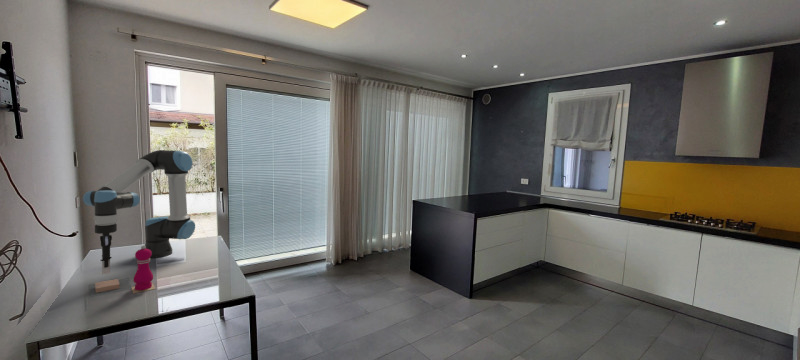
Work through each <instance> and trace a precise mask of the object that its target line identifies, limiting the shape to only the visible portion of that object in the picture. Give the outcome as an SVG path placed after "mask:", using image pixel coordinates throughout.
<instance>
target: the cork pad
mask: <svg viewBox="0 0 800 360" xmlns="http://www.w3.org/2000/svg"><path fill="white" fill-rule="evenodd" d="M131 288H132V289H131V292H132V294H138V293H143V292H147V291H148V292H149V291H151V290H156V287H155V285H154V282H152V287H151V288H148V289H145V290H135V285H134V286H131Z"/></svg>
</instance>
